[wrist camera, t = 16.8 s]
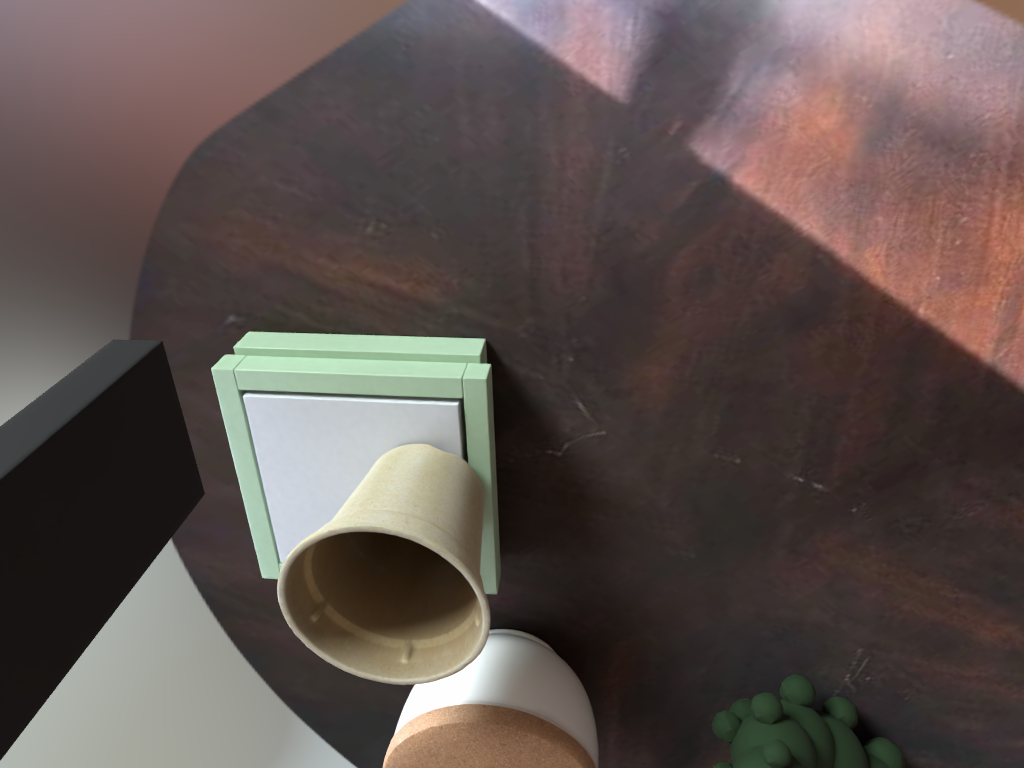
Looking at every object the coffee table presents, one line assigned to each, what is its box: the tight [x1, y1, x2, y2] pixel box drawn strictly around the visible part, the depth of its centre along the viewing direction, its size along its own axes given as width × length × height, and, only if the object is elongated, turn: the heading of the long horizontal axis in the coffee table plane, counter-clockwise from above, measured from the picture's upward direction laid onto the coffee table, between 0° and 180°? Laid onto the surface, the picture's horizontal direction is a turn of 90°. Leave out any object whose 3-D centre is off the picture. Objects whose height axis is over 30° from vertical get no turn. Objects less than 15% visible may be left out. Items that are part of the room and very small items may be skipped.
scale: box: [211, 332, 501, 594], centre depth 43 cm, size 15×14×4 cm
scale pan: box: [243, 390, 468, 563], centre depth 42 cm, size 11×11×2 cm
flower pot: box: [277, 444, 490, 685], centre depth 37 cm, size 9×9×9 cm
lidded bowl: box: [383, 629, 599, 768], centre depth 47 cm, size 13×13×11 cm
